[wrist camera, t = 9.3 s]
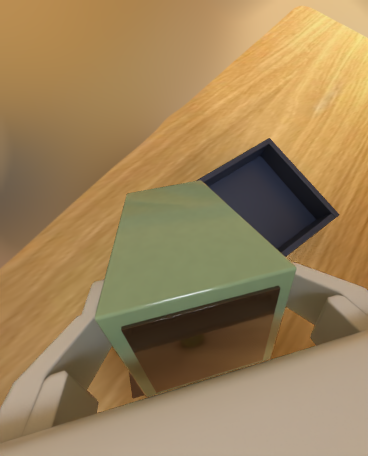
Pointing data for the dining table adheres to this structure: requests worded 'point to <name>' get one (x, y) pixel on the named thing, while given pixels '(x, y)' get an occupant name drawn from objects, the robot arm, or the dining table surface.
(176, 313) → the green box
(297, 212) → the tray
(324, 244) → the dining table surface
